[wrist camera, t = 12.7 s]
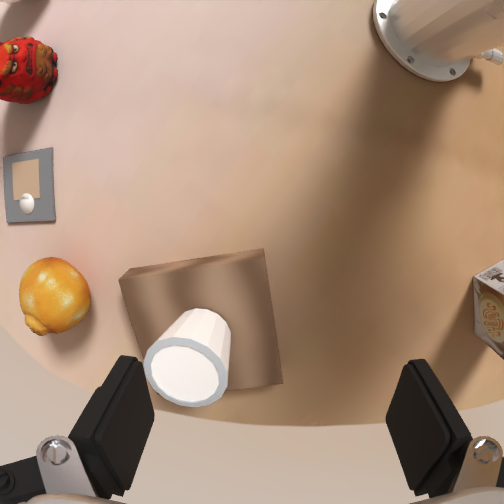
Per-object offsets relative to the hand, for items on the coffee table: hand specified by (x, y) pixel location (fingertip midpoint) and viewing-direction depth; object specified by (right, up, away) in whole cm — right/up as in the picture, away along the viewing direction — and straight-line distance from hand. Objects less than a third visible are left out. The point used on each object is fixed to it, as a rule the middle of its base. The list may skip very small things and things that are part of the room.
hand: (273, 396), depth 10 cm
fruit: (-21, +2, +22) cm, 31 cm away
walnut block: (-5, -2, +24) cm, 25 cm away
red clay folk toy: (-25, +25, +16) cm, 39 cm away
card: (-26, +12, +19) cm, 35 cm away
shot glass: (-5, -3, +20) cm, 21 cm away
